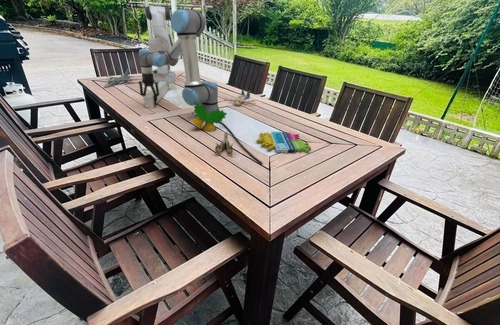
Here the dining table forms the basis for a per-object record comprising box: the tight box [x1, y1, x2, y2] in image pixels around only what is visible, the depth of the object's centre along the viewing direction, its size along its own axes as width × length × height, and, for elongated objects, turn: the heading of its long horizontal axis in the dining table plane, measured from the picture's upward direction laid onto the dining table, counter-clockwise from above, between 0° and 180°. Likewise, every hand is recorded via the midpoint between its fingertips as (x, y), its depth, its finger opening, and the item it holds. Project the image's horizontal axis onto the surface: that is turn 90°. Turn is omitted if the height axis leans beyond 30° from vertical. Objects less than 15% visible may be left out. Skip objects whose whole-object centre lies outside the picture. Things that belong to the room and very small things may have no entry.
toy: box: [223, 89, 257, 106], centre depth 219 cm, size 28×7×30 cm
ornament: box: [191, 102, 228, 132], centre depth 162 cm, size 21×8×15 cm, turn 105°
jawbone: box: [214, 131, 234, 156], centre depth 136 cm, size 9×15×10 cm
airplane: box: [102, 68, 138, 88], centre depth 247 cm, size 38×31×10 cm
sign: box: [256, 131, 312, 154], centre depth 152 cm, size 26×2×30 cm
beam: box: [143, 81, 171, 109], centre depth 216 cm, size 59×6×8 cm, turn 3°
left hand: (164, 86), depth 237 cm, fingers closed on beam, 5 cm apart
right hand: (151, 104), depth 197 cm, fingers closed on beam, 6 cm apart
